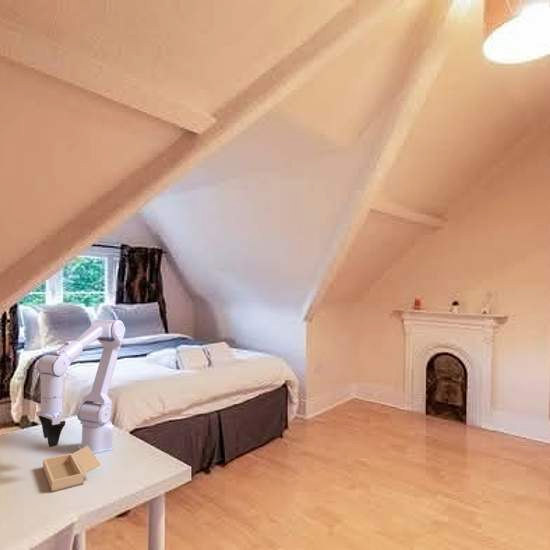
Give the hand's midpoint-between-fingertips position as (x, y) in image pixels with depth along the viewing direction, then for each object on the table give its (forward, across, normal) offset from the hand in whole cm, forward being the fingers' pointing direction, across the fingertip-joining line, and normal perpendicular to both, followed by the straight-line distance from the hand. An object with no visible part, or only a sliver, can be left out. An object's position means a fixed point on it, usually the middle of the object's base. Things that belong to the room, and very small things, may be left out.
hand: (50, 441), depth 125 cm
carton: (+9, +4, +3) cm, 11 cm away
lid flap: (+6, +4, +9) cm, 11 cm away
